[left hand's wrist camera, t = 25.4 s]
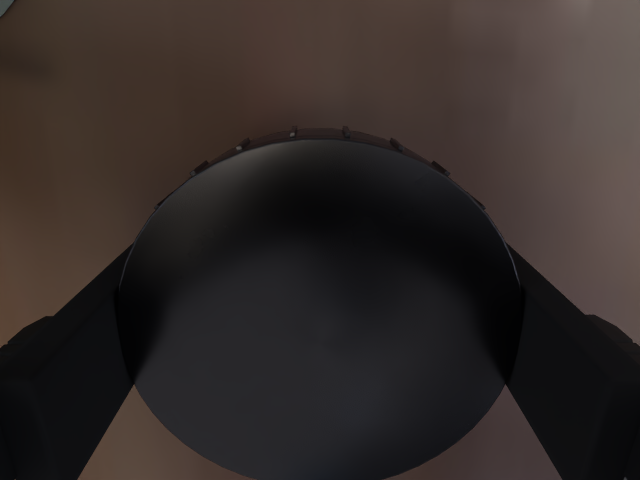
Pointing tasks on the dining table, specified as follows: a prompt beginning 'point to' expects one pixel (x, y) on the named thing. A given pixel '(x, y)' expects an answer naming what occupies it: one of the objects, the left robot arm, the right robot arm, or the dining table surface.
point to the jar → (4, 6)
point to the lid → (319, 308)
